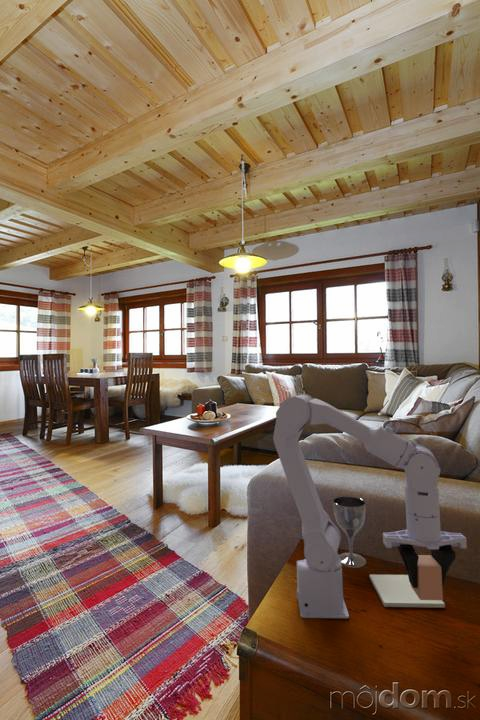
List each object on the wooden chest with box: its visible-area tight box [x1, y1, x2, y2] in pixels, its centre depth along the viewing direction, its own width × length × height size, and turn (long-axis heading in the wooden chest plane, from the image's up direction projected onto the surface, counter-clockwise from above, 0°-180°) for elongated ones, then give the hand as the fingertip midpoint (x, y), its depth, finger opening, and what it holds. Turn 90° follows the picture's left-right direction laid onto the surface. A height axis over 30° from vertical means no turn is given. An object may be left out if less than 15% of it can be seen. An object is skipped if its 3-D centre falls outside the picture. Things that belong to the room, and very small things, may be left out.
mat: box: [369, 574, 446, 609], centre depth 76 cm, size 12×10×1 cm
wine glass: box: [332, 495, 367, 569], centre depth 89 cm, size 8×8×15 cm
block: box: [411, 554, 444, 601], centre depth 65 cm, size 4×4×6 cm
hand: (425, 584), depth 65 cm, fingers closed on block, 4 cm apart
